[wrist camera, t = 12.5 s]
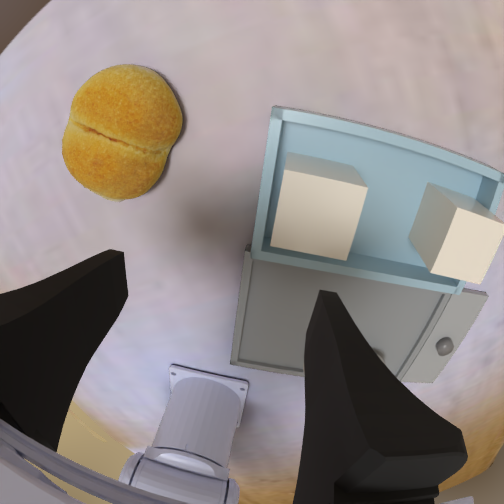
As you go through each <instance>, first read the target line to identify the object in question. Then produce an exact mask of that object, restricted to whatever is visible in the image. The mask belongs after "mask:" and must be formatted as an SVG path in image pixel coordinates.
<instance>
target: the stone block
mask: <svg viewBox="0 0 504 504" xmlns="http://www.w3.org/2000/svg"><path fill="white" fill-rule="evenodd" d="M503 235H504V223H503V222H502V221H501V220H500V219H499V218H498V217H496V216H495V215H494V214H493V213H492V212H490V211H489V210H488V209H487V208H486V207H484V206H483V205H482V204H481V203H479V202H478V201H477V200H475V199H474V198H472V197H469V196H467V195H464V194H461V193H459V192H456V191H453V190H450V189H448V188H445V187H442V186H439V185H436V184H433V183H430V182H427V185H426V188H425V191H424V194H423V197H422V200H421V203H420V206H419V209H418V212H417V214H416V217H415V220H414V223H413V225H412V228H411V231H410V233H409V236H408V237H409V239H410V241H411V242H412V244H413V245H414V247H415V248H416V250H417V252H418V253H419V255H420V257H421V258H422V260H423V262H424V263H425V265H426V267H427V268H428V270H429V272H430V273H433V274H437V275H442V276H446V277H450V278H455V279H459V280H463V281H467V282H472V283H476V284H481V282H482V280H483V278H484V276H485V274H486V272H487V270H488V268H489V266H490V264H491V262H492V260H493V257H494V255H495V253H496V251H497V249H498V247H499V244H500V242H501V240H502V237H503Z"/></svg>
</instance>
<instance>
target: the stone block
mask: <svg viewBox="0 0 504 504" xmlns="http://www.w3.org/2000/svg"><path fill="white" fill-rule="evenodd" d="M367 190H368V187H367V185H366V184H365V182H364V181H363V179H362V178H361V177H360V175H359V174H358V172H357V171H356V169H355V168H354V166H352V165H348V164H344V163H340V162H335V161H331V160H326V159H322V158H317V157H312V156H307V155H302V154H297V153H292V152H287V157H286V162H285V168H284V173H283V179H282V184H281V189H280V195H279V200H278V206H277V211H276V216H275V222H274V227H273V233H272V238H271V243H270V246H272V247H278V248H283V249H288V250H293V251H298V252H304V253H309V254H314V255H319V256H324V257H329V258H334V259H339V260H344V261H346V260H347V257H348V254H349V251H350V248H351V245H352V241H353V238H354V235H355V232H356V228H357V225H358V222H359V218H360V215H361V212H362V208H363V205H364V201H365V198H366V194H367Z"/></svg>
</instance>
